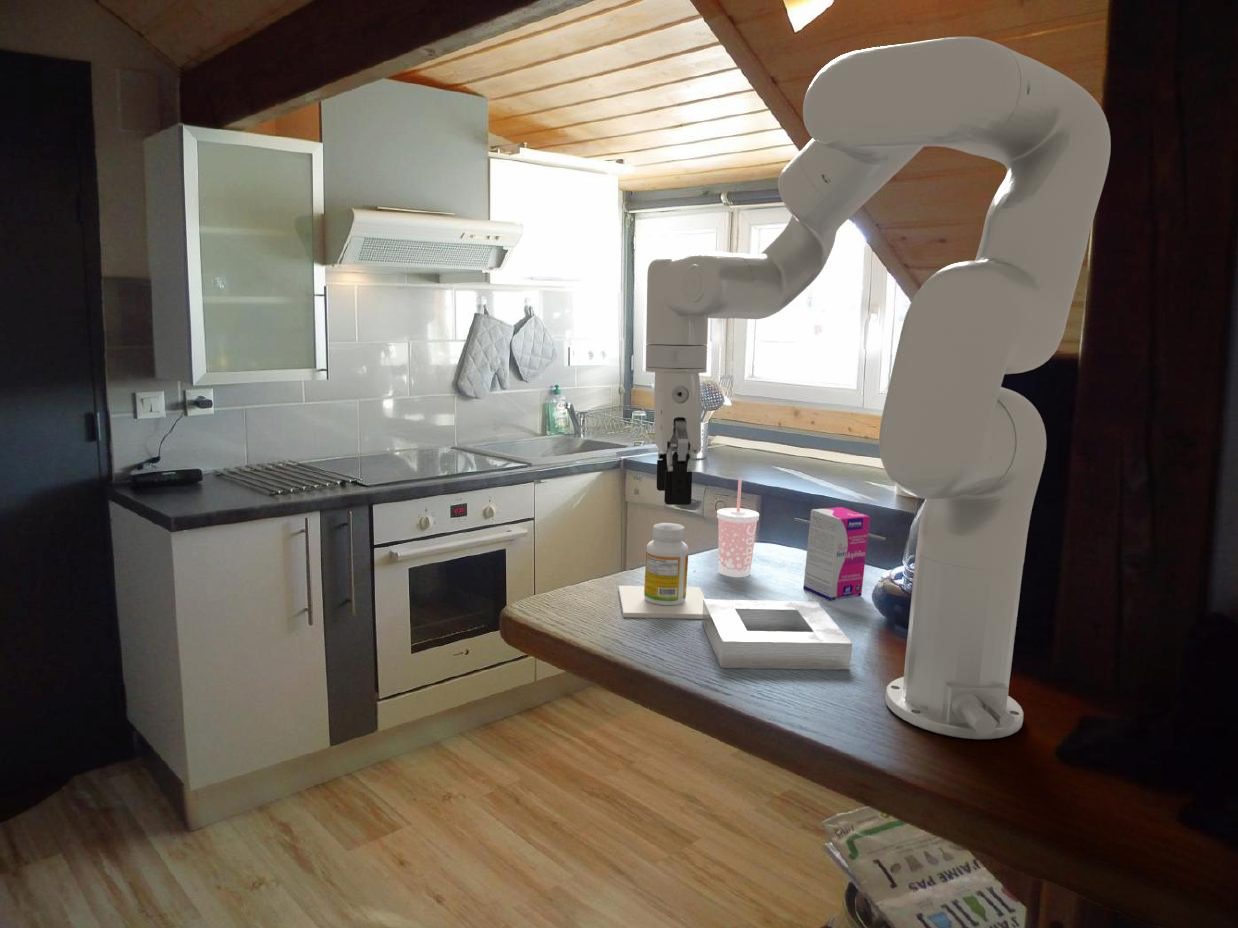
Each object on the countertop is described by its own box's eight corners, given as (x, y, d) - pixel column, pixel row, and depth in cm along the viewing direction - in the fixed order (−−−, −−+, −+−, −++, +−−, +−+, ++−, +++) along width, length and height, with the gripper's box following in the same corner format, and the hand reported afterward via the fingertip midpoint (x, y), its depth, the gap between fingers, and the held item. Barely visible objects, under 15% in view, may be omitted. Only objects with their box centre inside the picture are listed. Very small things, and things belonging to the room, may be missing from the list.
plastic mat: (712, 618, 113) (712, 614, 113) (623, 617, 112) (623, 612, 112) (699, 591, 123) (699, 587, 123) (618, 589, 123) (618, 585, 123)
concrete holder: (849, 669, 98) (852, 643, 98) (721, 667, 97) (722, 640, 97) (815, 624, 112) (816, 601, 111) (701, 622, 111) (703, 599, 111)
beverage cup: (730, 580, 129) (736, 483, 127) (704, 569, 134) (710, 475, 132) (764, 575, 132) (770, 480, 130) (737, 564, 137) (743, 473, 135)
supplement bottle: (664, 590, 121) (668, 519, 120) (694, 601, 117) (698, 527, 116) (635, 598, 117) (638, 524, 116) (665, 609, 114) (669, 533, 112)
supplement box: (831, 602, 121) (838, 518, 119) (802, 589, 126) (808, 508, 124) (863, 597, 124) (871, 514, 122) (833, 584, 129) (840, 505, 127)
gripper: (718, 363, 104) (713, 510, 106) (696, 358, 121) (693, 485, 123) (652, 362, 104) (649, 510, 106) (640, 357, 121) (638, 485, 123)
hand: (673, 496), depth 115 cm, fingers open, 9 cm apart
